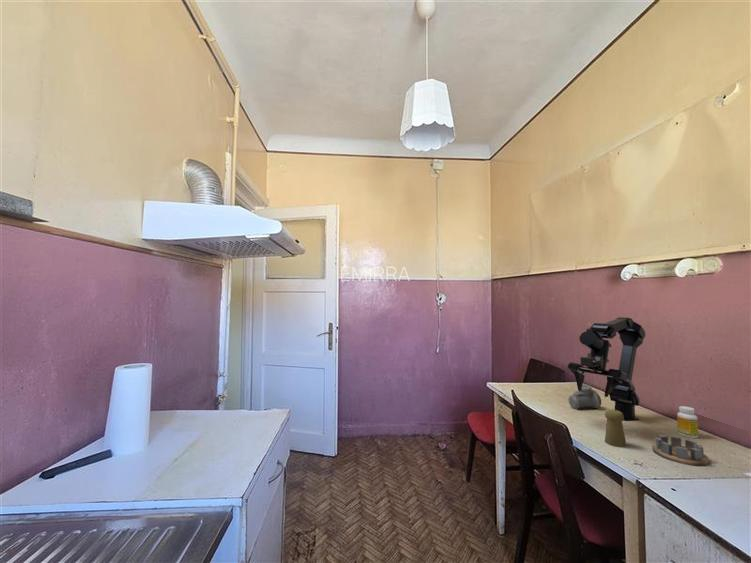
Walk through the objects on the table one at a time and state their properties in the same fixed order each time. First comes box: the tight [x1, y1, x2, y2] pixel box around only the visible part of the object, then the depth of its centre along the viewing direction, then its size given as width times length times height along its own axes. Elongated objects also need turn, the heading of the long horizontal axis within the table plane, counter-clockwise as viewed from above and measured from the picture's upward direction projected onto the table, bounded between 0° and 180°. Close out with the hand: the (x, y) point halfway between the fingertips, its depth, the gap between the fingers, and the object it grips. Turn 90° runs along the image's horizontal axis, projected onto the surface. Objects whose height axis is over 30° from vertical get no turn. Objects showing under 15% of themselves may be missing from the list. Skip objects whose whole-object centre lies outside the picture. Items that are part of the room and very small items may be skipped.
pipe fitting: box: [567, 383, 602, 410], centre depth 149 cm, size 12×8×10 cm, turn 98°
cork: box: [604, 408, 627, 448], centre depth 112 cm, size 6×6×11 cm
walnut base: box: [651, 443, 710, 467], centre depth 103 cm, size 13×13×1 cm
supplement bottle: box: [676, 405, 699, 439], centre depth 119 cm, size 5×5×10 cm
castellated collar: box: [655, 434, 705, 461], centre depth 103 cm, size 11×11×3 cm
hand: (592, 393), depth 124 cm, fingers open, 9 cm apart
